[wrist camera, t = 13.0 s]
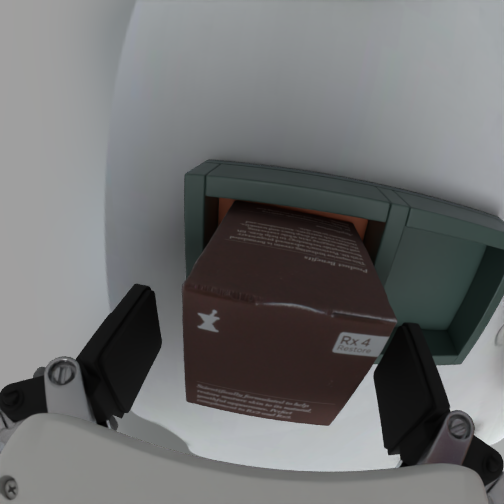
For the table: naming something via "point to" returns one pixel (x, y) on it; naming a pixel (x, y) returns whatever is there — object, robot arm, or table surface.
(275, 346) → the box
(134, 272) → the table surface
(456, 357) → the tray
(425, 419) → the robot arm
